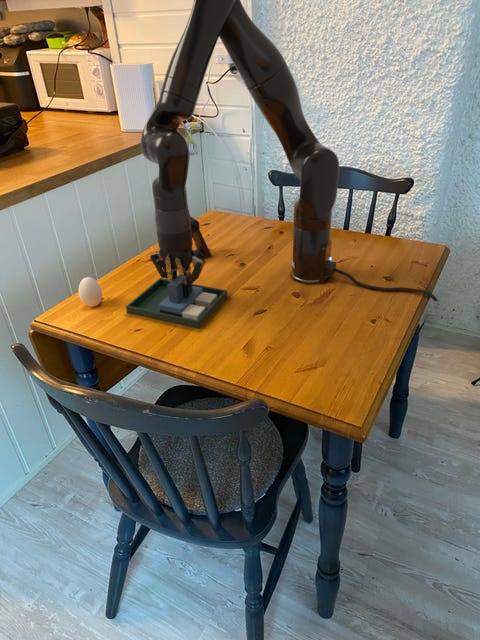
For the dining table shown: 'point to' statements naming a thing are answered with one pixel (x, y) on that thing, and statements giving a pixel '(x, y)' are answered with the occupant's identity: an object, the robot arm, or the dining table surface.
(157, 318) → the tray
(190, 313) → the cream slab tile
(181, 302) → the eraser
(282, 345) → the dining table surface
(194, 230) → the dark grey a-frame stand
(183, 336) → the dining table surface
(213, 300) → the beige square tile
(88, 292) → the egg
